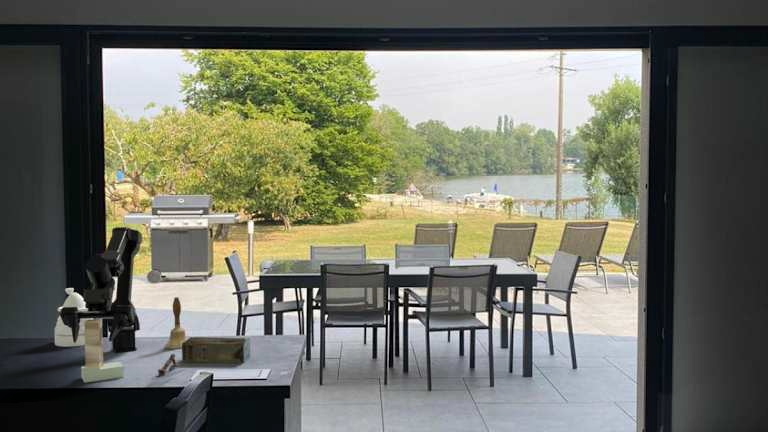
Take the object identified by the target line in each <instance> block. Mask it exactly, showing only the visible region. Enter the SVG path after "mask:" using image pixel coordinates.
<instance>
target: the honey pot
mask: <svg viewBox="0 0 768 432" xmlns="http://www.w3.org/2000/svg"><path fill="white" fill-rule="evenodd" d="M74 290H75V289H74V287H68V288H65V292H66V294H67V295H68V296H67V298H66V299H65V301H64V303H63V304H62V306H60V307H58V308H57V312H59V313H60V311H61V309H62V308H63V307H77V309H78V311H88V308H86V307H85V304H86V302H84V301H83V300H84V297H83V296H82V295H81V294H79V293H78V292H74ZM88 319H94V318H87V319H80V323H79V325H80V329H79V333H78V338H77V341H76V343H74V341H73V336H72V330H71V328H69V327H68V326H66V325H64V323H63V321H62V319H61V317H60V315H59V314H58V317H57V321H56V326H55V327H54V345H55V346H57V347H67V348H68V347H81V346H85V326H84V322H85V321H87V320H88Z"/></svg>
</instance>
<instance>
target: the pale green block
mask: <svg viewBox="0 0 768 432" xmlns="http://www.w3.org/2000/svg"><path fill="white" fill-rule="evenodd" d="M80 371H81V379H82V381H83V383H90V382H97V381H98V382H99V381H105V380H112V379H119V378H124V377H125V375H124V365H123V364H122V363H121V362H120V361H117V362H116V361H115V362H109V363H108V362H107V363H103V366H102V367H101V368H100V369H90V370H86V365H85V366H81V370H80Z"/></svg>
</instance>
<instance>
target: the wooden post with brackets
mask: <svg viewBox="0 0 768 432" xmlns="http://www.w3.org/2000/svg"><path fill="white" fill-rule="evenodd" d="M171 364H172V365H171ZM168 367H169V368H168ZM177 367H178V364H177V361H176V353H171V354H170V356H169V358H168V359H167V360H166V362H165V363H164V366H162V367H161V369H157V371H158V375H159V376H160V375H162V376H165V375H166V371H167V369H168V371H169V372H172V371H174V369H175V368H177Z"/></svg>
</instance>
